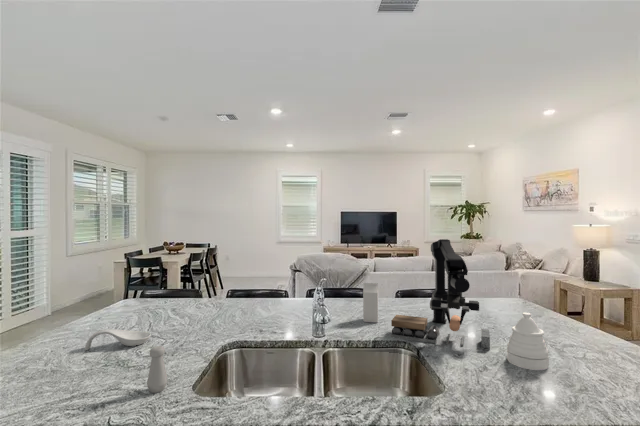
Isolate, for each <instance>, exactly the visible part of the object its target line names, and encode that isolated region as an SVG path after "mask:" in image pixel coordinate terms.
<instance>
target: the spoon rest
mask: <svg viewBox="0 0 640 426" xmlns="http://www.w3.org/2000/svg"><path fill="white" fill-rule="evenodd" d="M105 334H106V335H110V336H111V337H114V338H115V339H116V340H117V341H118V342H119V343H121V344H122V345H124V346H125V347H128V346H132V347H137V346H136V345H138V346H140V345H143V344H144V343H146V342H147V341H148V340H149V339H150V338H151V335H152V333H150V332H148V331H143V330H142V331H141V330H125V329H123V330H122V329H114V328H113V329H112V328H109V329H107V328H106V329H101V330H98V331H96V332H95V333H93V334H92V335H91V336H90V337H89V338H88V339H87V341H86V342H85V345H84V351H86V350H87V351H88V350H89V351H90V348H91V346H92V342H93V339H95V338H96V337H97V336H100V335H105Z"/></svg>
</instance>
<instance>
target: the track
mask: <svg viewBox="0 0 640 426" xmlns="http://www.w3.org/2000/svg"><path fill="white" fill-rule="evenodd" d="M440 333H441V332H440V329H439V327H438V326H437V325H431V326H430V327H429V330H428V326H426V328H425V330H418V329H410V328H403V327H395V326H393V328H392V330H391V334H390V338H393V337H394V339H402V340H407V341H414V342H415V341H416V342H423V343H430V344H437V339H438V337H439V335H440ZM413 335H414V336H413ZM425 336H426V338H425ZM450 339H451V333H447V337H446V340H445V344H446V345H449V342H450ZM460 344H461V345H460V347H464V344H465V335H461V342H460Z"/></svg>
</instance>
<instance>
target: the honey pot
mask: <svg viewBox="0 0 640 426" xmlns="http://www.w3.org/2000/svg"><path fill="white" fill-rule="evenodd" d="M531 316H532V314H531V313H530V312H522V317H520V318H519V320H518V321H517V322H516V324H515V325H514V326H512V327H511V331H512V332H511V334H510V336H509V337H510V338H509V339H508V343H507V344H506V348H507V349H506V355H507V356H506V359H507V361H508V362H509V363H510V364H512V365H514V366H516V367H519V368H522V369H526V370H531V371H532V370H533V371H543V370H547V369H549V367H550V357H549V356H550V355H549V353H550V352H549V349H548V348H547V344H546V341H545V340H544V337H543V336H544V335H545V332H544V330H543V329H541V328H539V326H538V324H537V323H536V321H535V320H534V319H533V318H532V317H531Z"/></svg>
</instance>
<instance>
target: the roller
mask: <svg viewBox="0 0 640 426" xmlns="http://www.w3.org/2000/svg"><path fill="white" fill-rule="evenodd" d="M460 319H461V316H459V315H456V314H454V315H452V316H450V324H449V323H448V324H449V325H448V326H449V329H450V330H451V331H452V332H458V331H459V330H460V328H461V325H460Z"/></svg>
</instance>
